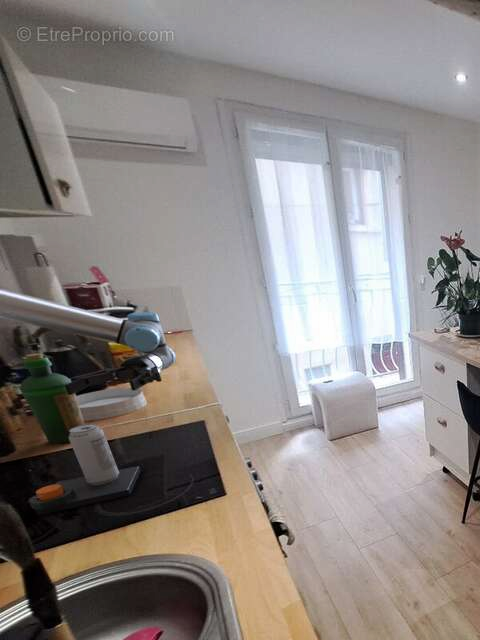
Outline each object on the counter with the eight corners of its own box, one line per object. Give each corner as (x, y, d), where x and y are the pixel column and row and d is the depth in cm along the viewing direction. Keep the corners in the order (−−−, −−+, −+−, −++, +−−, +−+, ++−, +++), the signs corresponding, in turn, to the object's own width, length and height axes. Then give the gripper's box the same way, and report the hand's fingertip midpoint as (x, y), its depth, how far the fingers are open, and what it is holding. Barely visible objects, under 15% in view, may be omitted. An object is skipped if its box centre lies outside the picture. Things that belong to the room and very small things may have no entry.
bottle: (96, 437, 133) (63, 354, 124) (48, 449, 125) (8, 361, 115) (88, 429, 139) (56, 348, 129) (41, 440, 131) (3, 355, 121)
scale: (30, 519, 94) (23, 506, 93) (53, 488, 106) (48, 477, 105) (129, 497, 103) (124, 485, 102) (140, 471, 115) (136, 460, 113)
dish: (137, 414, 151) (133, 402, 150) (53, 425, 141) (47, 412, 139) (153, 396, 169) (149, 384, 168) (79, 404, 159) (74, 392, 157)
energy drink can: (100, 475, 109) (79, 423, 104) (126, 473, 110) (107, 422, 105) (81, 487, 104) (58, 433, 98) (109, 485, 105) (87, 432, 99)
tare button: (36, 502, 95) (32, 495, 94) (43, 494, 98) (39, 487, 97) (61, 497, 97) (57, 490, 96) (66, 489, 100) (63, 482, 99)
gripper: (86, 358, 124) (34, 378, 105) (185, 353, 132) (153, 371, 113) (95, 381, 127) (45, 405, 108) (191, 375, 135) (161, 396, 116)
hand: (100, 387), depth 111 cm, fingers open, 13 cm apart
